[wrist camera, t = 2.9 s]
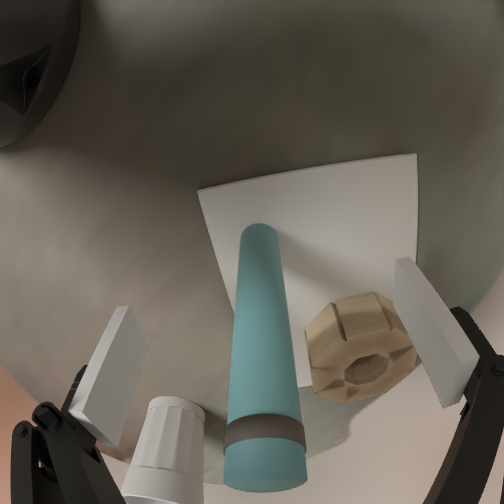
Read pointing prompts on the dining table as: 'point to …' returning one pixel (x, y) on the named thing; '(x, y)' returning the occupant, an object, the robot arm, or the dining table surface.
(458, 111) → the dining table surface
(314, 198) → the mat
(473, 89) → the dining table surface
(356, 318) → the bead
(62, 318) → the dining table surface
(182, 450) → the cup
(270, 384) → the teal marker pen
